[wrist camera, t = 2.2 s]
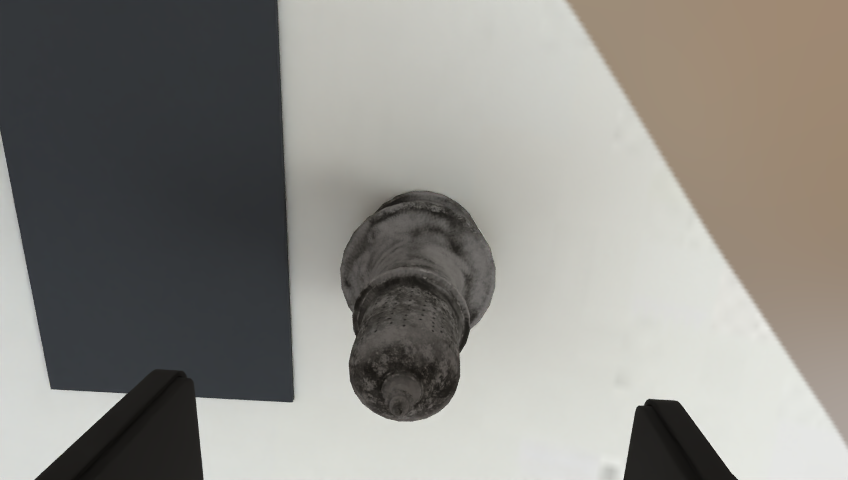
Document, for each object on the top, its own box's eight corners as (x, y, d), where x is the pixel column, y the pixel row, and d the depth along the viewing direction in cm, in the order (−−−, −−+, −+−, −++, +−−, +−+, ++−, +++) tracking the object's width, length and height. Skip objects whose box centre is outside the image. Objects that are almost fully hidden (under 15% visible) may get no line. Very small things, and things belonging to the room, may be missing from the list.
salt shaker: (381, 164, 22) (311, 248, 10) (509, 213, 22) (578, 348, 11) (338, 284, 24) (236, 472, 12) (458, 328, 24) (470, 552, 12)
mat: (-33, -67, 20) (-40, -70, 20) (274, -59, 20) (272, -61, 19) (55, 386, 26) (50, 389, 25) (294, 399, 25) (292, 402, 25)
